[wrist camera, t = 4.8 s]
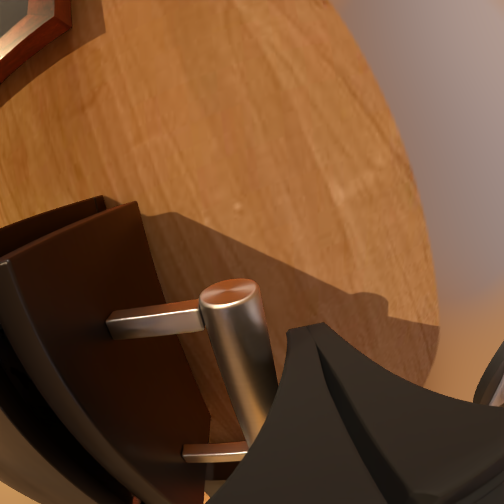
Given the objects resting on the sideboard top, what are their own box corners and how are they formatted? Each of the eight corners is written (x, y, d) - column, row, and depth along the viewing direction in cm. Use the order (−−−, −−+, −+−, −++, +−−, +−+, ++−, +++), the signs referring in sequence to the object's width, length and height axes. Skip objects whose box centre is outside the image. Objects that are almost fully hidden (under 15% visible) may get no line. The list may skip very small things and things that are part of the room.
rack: (241, 176, 10) (237, 200, 3) (284, 407, 13) (302, 521, 7) (-39, 263, 10) (-107, 306, 4) (32, 404, 13) (-5, 464, 7)
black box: (103, 194, 10) (-72, 261, 2) (184, 412, 14) (163, 542, 6) (-47, 257, 11) (-122, 304, 3) (21, 398, 15) (-23, 465, 6)
